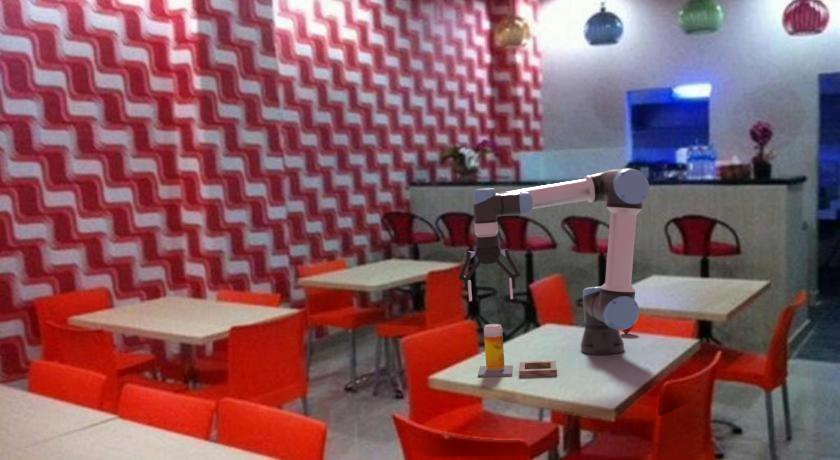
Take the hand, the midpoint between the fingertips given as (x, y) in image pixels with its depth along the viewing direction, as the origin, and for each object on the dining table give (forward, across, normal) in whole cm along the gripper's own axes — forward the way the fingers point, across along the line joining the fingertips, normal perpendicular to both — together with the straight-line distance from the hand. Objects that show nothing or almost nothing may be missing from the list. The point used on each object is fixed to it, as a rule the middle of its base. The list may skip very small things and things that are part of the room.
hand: (491, 299), depth 256 cm
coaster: (+24, 0, 0) cm, 25 cm away
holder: (+24, -14, +1) cm, 28 cm away
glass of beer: (+24, 0, 0) cm, 24 cm away
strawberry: (+25, -48, -52) cm, 75 cm away
